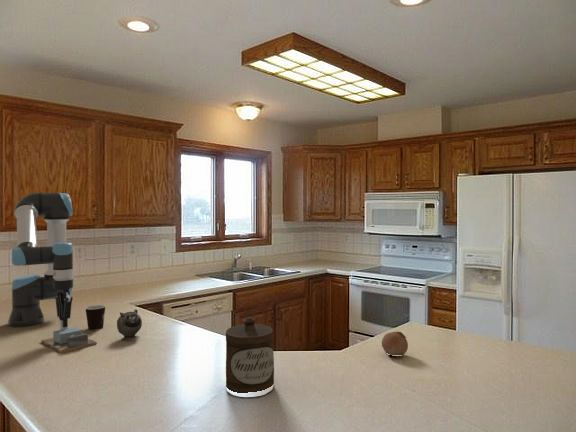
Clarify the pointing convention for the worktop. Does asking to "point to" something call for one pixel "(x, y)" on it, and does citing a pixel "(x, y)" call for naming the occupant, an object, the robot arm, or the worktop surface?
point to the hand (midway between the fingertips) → (63, 334)
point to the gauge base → (65, 346)
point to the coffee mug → (95, 317)
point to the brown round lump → (395, 343)
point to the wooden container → (249, 357)
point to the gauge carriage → (65, 334)
